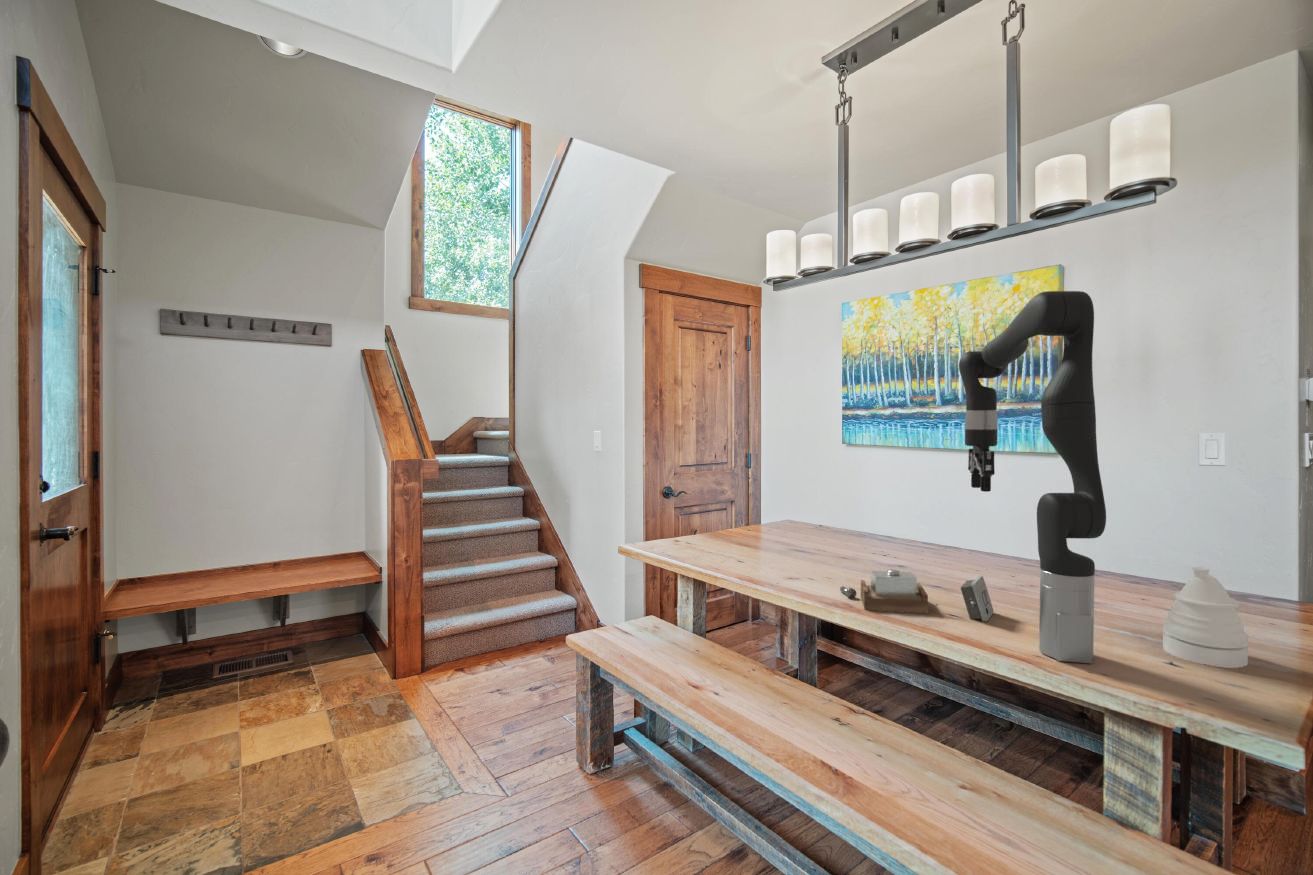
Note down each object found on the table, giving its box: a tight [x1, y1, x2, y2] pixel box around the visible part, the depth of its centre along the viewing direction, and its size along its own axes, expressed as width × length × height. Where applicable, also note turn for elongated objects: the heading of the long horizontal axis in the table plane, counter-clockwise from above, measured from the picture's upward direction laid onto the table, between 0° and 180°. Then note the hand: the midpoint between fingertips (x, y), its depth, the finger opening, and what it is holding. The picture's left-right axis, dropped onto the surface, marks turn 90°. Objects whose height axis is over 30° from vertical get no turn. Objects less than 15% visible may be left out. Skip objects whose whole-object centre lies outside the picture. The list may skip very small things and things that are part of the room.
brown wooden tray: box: [860, 579, 929, 615], centre depth 157 cm, size 12×15×4 cm
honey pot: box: [1162, 566, 1249, 669], centre depth 123 cm, size 13×13×18 cm
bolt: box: [839, 585, 857, 599], centre depth 166 cm, size 6×3×3 cm, turn 6°
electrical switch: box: [960, 575, 995, 623], centre depth 148 cm, size 9×5×9 cm, turn 141°
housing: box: [870, 569, 917, 597], centre depth 157 cm, size 6×10×6 cm, turn 82°
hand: (980, 489), depth 158 cm, fingers open, 8 cm apart
